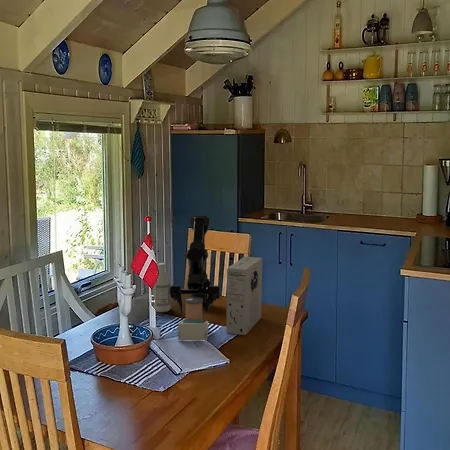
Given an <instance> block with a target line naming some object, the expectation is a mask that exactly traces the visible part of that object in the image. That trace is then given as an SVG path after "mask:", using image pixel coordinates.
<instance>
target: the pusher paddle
mask: <svg viewBox="0 0 450 450" xmlns="http://www.w3.org/2000/svg"><path fill="white" fill-rule="evenodd" d="M182 321H183V323H205V320H204V319H202V320H186V319H182Z"/></svg>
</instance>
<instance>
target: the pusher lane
mask: <svg viewBox="0 0 450 450" xmlns="http://www.w3.org/2000/svg"><path fill="white" fill-rule="evenodd" d="M177 326H178V328H177V331H178V334H177V336H178V338H177V341H178V340H205V341H207V342H208V335H209V321H208V320H205V321H204V323H183V320H181V321H180V322H178V324H177Z"/></svg>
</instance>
